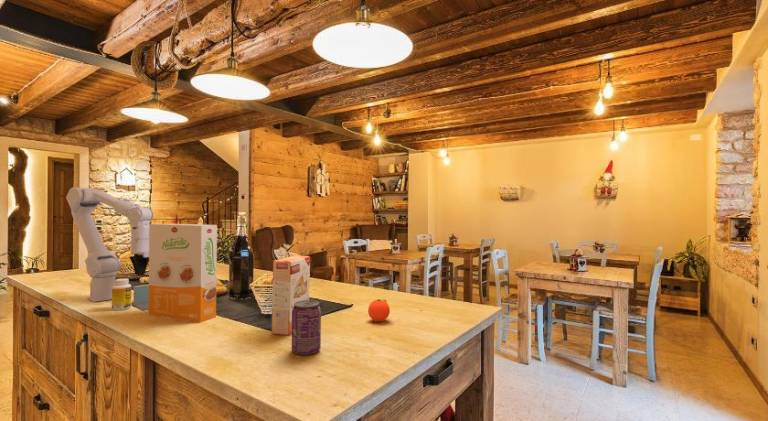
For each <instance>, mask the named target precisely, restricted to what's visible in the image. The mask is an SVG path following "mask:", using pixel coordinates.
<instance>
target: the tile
mask: <svg viewBox="0 0 768 421" xmlns="http://www.w3.org/2000/svg"><path fill="white" fill-rule="evenodd" d="M145 302H149V283H148V284H140V285H134V286H133V304H138V303H145Z"/></svg>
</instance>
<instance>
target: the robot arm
mask: <svg viewBox="0 0 768 421" xmlns="http://www.w3.org/2000/svg"><path fill="white" fill-rule="evenodd" d="M65 199H66V201H67V203H68V205H69V208H70V211H71V216H72V218H73V220H74V223H75V225H76V227H77V230H78V232H79V234H80V236H81V238H82V241H83V244H84V245H85V247H86V250H87V252H88V254H89V255H88V256H87V257H86V259H84V262H85V265H86V267H85V268H86V273H87V274H88V275H89V278H91V279H90V282H89V283H90V290H89V294H90V295H89V296H87V297H86V299H88V300H90V301H91V302H93V303H95V302H104V301H110V300H111V301H112V286H114V285H115V280H116V275H117V274H118V272H119V271H120V269H121V267H122V266H121V261H120V259H119V258H117V256H116V255H115V253H114V252H112V251H110V250H109V249H107V247H106V245H105V244H104V241H103V239H102V237H101V234H100V232H99V230H98V227H97V225H96V223H95V221H94V219H93V216H92V212H94V211H95V210H96V209H97V207H99V205H100V203H101V204H104V205H106V206H108V207H111V208H113V211H114V213H117V214H119V215H122V216H123V217H126V218H127V219H128V221H129V225H130V227H131V229H130V232H131V233H130V235H131V236H130V237H131V238H130V239H131V242H130V243H131V245H130V248H131V249H130V255H133V256H128V258H129V260H130V262H131V264H132V267H133V271H134V274H135V275H136V276H138V277H139V276H145V275H146V271H147V266H149V225H150V222H151V221H152V219H153V218H154V213H153V210H152V209H151V208H150V207H148V206H141V204H139V203H134V202H132V201H131V199H129V198H121V199H118V198H117V197H115V196H113V195H110V194H109V193H107V192H105V191H104V190H103V189H100V188H96V187H95V188H93V187H92V188H91V187H90V188H89V187H79V186H78V187H77V186H73V187H70V189H68V193H67V194H66V196H65Z"/></svg>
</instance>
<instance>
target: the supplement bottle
mask: <svg viewBox="0 0 768 421" xmlns="http://www.w3.org/2000/svg"><path fill="white" fill-rule="evenodd" d="M129 282H130V280H129V278H117V279H116V278H115V285H114V286H112V299H111V309H112V310H113V311H124V310H128V309H131V307H132V285H131V283H129Z"/></svg>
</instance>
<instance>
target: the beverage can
mask: <svg viewBox="0 0 768 421" xmlns="http://www.w3.org/2000/svg"><path fill="white" fill-rule="evenodd" d="M321 324H322V310H321V307H320V302H319V301H317V300H310V299H309V300H304V301H298V302H295V303H294V308H293V310H292V334H291V351H292V353H293V352H294V353H295V354H296V355H297V354H298V355H300V356H307V355H313V354H315V353H316V352H318V351H320V349H321V346H322V344H321V343H322V337H321V335H322V332H321V331H322V328H321V327H322V325H321Z"/></svg>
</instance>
